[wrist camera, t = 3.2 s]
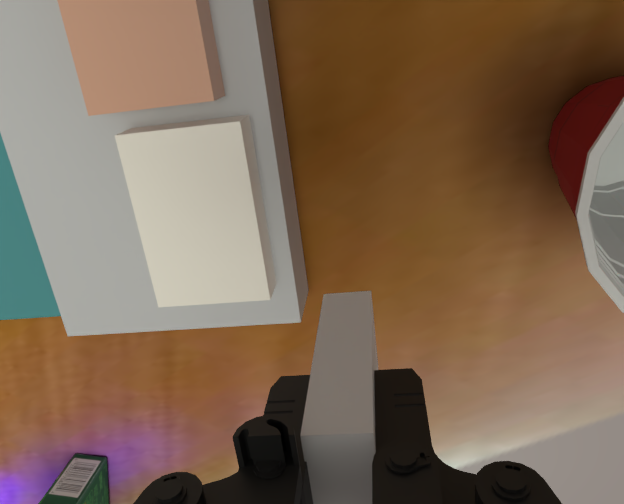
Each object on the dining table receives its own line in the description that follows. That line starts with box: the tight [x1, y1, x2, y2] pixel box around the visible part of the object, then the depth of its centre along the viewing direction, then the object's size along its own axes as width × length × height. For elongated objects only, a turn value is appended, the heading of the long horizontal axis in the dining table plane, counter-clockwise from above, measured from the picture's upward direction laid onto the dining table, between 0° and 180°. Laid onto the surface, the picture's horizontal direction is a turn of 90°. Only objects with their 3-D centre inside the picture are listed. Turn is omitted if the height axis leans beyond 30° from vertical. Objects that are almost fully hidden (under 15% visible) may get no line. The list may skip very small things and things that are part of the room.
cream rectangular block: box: [114, 115, 277, 307], centre depth 28 cm, size 9×6×2 cm, turn 7°
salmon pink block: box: [57, 0, 225, 116], centre depth 24 cm, size 9×6×2 cm, turn 7°
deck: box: [0, 0, 309, 336], centre depth 29 cm, size 22×14×4 cm, turn 7°
